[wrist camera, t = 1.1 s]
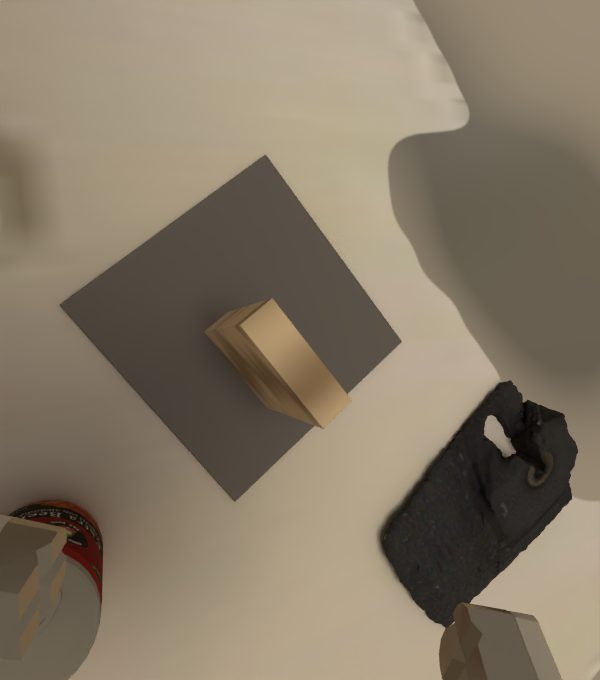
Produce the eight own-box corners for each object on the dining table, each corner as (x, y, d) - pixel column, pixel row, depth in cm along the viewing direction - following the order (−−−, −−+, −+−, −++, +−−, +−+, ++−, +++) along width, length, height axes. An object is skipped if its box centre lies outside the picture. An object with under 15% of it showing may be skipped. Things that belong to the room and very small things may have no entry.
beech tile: (203, 331, 41) (240, 325, 29) (227, 311, 41) (272, 297, 30) (266, 407, 42) (323, 428, 31) (288, 387, 43) (352, 400, 32)
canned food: (122, 519, 39) (127, 582, 28) (67, 624, 37) (50, 729, 27) (21, 479, 36) (-13, 530, 26) (-42, 588, 35) (-105, 689, 25)
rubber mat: (60, 305, 37) (59, 304, 37) (264, 156, 43) (265, 154, 43) (233, 500, 42) (234, 501, 41) (399, 341, 47) (401, 341, 47)
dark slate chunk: (350, 518, 46) (376, 537, 41) (509, 368, 52) (547, 370, 48) (438, 639, 49) (471, 668, 44) (578, 482, 55) (619, 494, 50)
